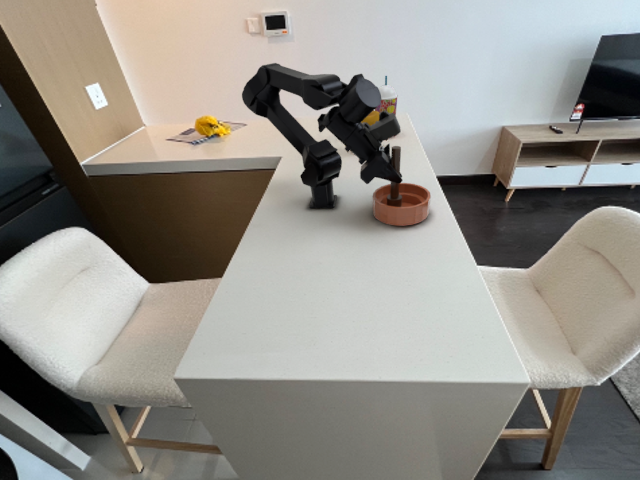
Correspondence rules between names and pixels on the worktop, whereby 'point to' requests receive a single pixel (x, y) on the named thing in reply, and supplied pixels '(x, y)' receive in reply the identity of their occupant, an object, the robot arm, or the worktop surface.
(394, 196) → the stick
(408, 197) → the bowl
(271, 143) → the worktop surface
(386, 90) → the smoothie
